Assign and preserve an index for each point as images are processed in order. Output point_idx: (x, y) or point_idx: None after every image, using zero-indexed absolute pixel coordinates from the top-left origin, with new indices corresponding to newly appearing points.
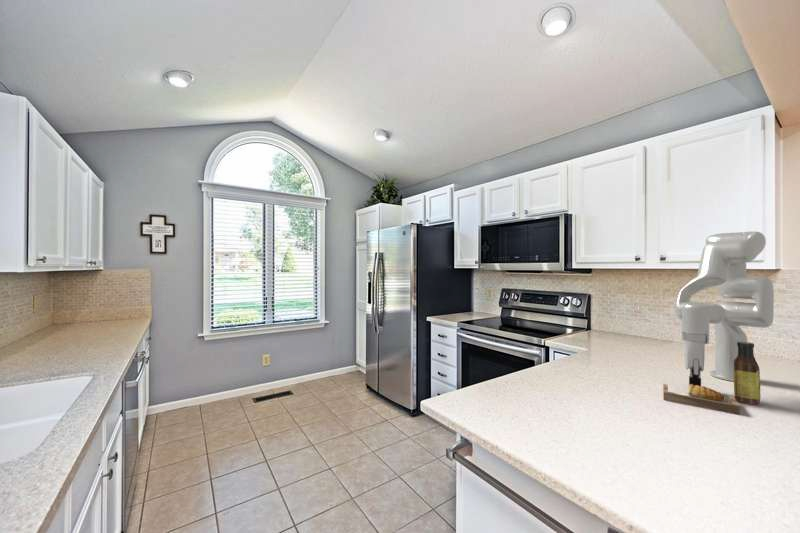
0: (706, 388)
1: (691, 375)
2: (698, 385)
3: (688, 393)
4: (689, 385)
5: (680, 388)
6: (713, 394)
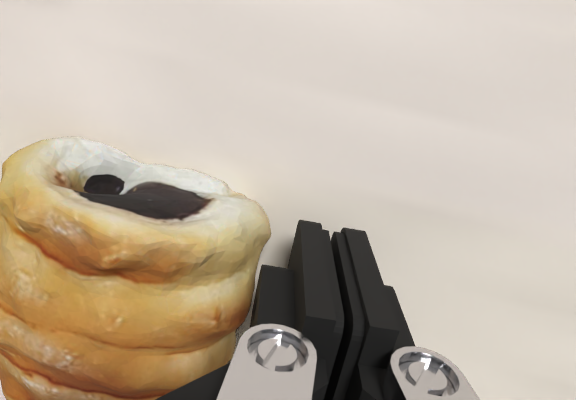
0: (66, 385)
1: (228, 369)
2: (149, 330)
3: (46, 140)
4: (80, 208)
5: (387, 117)
6: (4, 389)
